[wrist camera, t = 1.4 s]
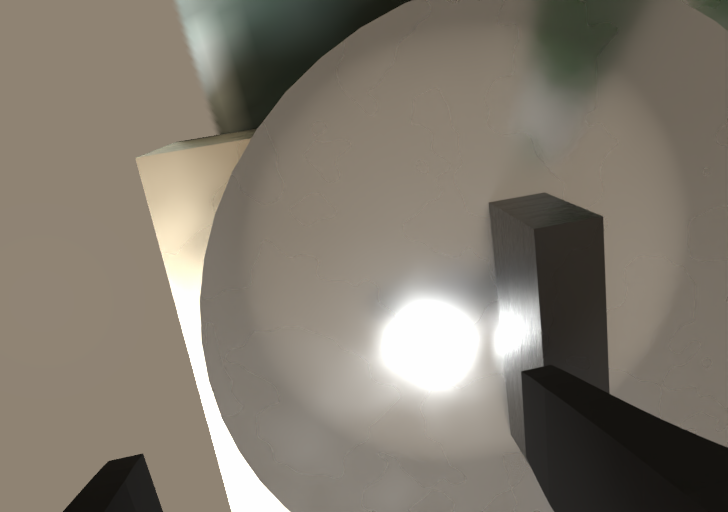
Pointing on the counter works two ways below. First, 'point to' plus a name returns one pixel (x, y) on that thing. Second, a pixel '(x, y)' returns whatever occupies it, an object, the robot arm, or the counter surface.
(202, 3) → the counter surface
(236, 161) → the cooker pot
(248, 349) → the cooker lid
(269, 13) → the counter surface
